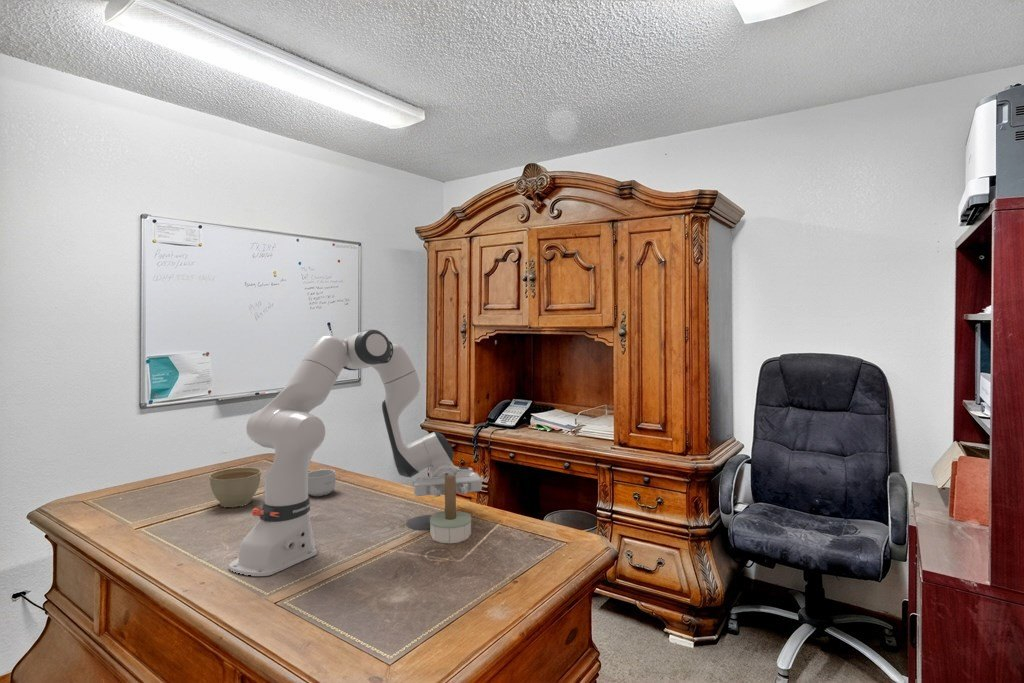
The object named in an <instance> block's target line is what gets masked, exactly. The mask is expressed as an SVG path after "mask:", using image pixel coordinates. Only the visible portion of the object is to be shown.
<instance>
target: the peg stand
mask: <svg viewBox="0 0 1024 683" xmlns="http://www.w3.org/2000/svg"><path fill="white" fill-rule="evenodd" d="M431 515H432V516H431V517H430V524H431V525H433V526H435V527H439V528H457V527H462V526H465V525H467V524H469V523H470V522H471V523H472V516H471V514H470V513H468V512H465V511H461V510H457V493H456V476H453V475H449V476H445V495H444V511H439V512H436V513H434V514H431Z"/></svg>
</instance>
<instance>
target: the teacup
mask: <svg viewBox="0 0 1024 683" xmlns="http://www.w3.org/2000/svg"><path fill="white" fill-rule="evenodd" d="M335 487H336V471H335V469H332V468H329V469H328V468H321V469H316V470H312V471H308V495H310V496H312V495H313V497H323V495H324V496H327V495H329V494H330V493H332V491H333V490H334V489H335Z"/></svg>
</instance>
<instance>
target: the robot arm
mask: <svg viewBox="0 0 1024 683" xmlns="http://www.w3.org/2000/svg"><path fill="white" fill-rule="evenodd" d="M370 367H372V369H374V370H375V371H376V372H377V373H378V375H379V376H380V379H381V382H382V384H383V387H384V390H385V397H384V400H382V403H381V408H382V415H383V418H384V423H385V428H386V431H387V435H388V440H389V443H390V448H391V451H392V461H393V466H394V468H395V471H396V472H397V473H398V474H399V476H402V477H405V478H412V477H414V476H415V475H418V474H419V473H420V472H422V471H424V470H426V469H428V477H425V476H424V477H417V478H416V479H415V480H414V481H412V483H411V485H412V487H413V489H414V491H413V492H414V493H413V494H414V496H417V497H421V496H422V497H424V496H434V497H441V495H443V496H445V476H449V475H453V476H456V494H460V495H464V496H465V495H466V494H467V493H473V492H477V493H478V492H480V491H482V489H483V486H482V485H483V481H482V478H481V476H479V474H478V473H477V472H475V471H474V470H473V468H472V467H463V466H456V465H454V463H453V461H454V456H455V455H454V452H453V449H452V447H451V445H450V443H449V442H448V440H447V437H446V436H445V435H444V434H442V433H440V432H437V431H433V432H430V433H428V434H426V435H424V436H422V437H420V438H418V439H417V440H416V439H415V440H414V441H411V442H409V443H407V444H404V441H403V437H402V434H401V429H400V426H399V417H400V416H401V415H402V413H403V412H404V411H405V409H407V408H408V406H410V405H411V403H412V402H413V401H414V400H415V399H416V397H417V396H418V394H419V392H420V390H421V383H420V377H419V376H418V372H417V371H416V369H415V366H414V364H413V362H412V360H411V359H410V357H409V355H408V354H407V352H406V350H405V349H404V348H403V346H401V345H400V344H399V343H394V342H393V343H392V342H391V341H390V339H389V338H388V337H387V336H386V335H385V334H384V332H381V331H380V330H378V329H366V330H365V329H364V330H362V331H361V332H357V333H354V334H352V335H349V336H348V337H346V338H344V339H341V338H339V337H337V336H334V335H323V336H321V337H319V338H318V340H316V341H315V343H314V344H313V345H312V346H311V348H310V349H308V351H307V353H306V354H305V356H304V357H303V359H302V360H301V361H300V363H299V365H298V367H297V369H296V370H295V372H294V374H293V375H292V377H291V378H290V379H289V381H288V382H287V384H286V385H285V387H284V388H283V389H282V390H281V391H280V392H279V393H278V394H277V395H276V396H275V397H274V398H273V399H272V400H271V401H270V402H268V403H267V404H266V405H265V406H264V407H262V408H261V409H259V410H257V411H255V412H253V414H251V415H250V416H249V418H248V420H247V423H246V433H247V436H248V438H249V439H250V440H251V441H253V443H255V444H257V445H259V446H260V447H264V448H267V449H273V450H274V451H275V452H274V458H273V462H272V465H271V467H269V468H267V470H266V471H265V472H264V476H263V479H264V481H263V484H264V486H263V488H264V502H263V503H262V506H261V508H259V507H254V508H253V509H252V510H251V515H252V516H253V517H259V519H258V521H257V522H255V525H254V526H253V527H252V528H251V529H250V531H249V532H248V533H247V535H245V537H244V538H243V539H242V540H241V542H240V545H239V548H238V550H239V551H238V557H237V558H236V559H234V560H233V561H231V562H230V563H229V564H228V569H230V570H229V571H231V572H232V571H233V573H235V572H236V573H235V574H238V573H240V574H239V575H242V574H244V576H248V575H251V577H267V576H271V575H274V574H277V573H279V572H280V571H283V570H286V569H287V568H290V567H292V566H294V565H297V564H298V563H302V562H303V561H306V560H307V559H310V558H313V557H314V556H317V554H318V552H317V548H316V544H315V541H314V533H313V526H312V521H311V517H310V511H311V500H310V496H309V493H308V472H309V469H310V464H311V460H312V457H313V455H314V454H315V452H316V451H317V450H318V448H320V447H321V445H322V444H323V442H324V440H325V437H326V426H325V424H324V422H323V421H322V419H321V418H319V417H318V416H315V415H314V414H312V413H310V412H311V411H313V410H314V409H315V408H317V407H318V406H320V405H322V404H323V403H324V402H325V401H326V400H327V398H328V397H329V394H330V393H331V390H332V389H333V387H334V385H335V383H336V381H337V379H338V378H339V376H340V374H341V372H342V370H343V369H344V370H347V371H358V370H362V369H367V368H370Z"/></svg>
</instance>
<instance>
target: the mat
mask: <svg viewBox="0 0 1024 683" xmlns="http://www.w3.org/2000/svg"><path fill="white" fill-rule="evenodd" d="M432 515H433V514H429V515H428V514H427V515H425V514H424V515H418V516H415V517H412V518H410V519H409V520H407V521H406V523H405V526H406V527H407V528H409V529H411V530H414V531H421V532H422V531H423V532H425V531H427V532H428V531H430V517H431V516H432Z"/></svg>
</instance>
